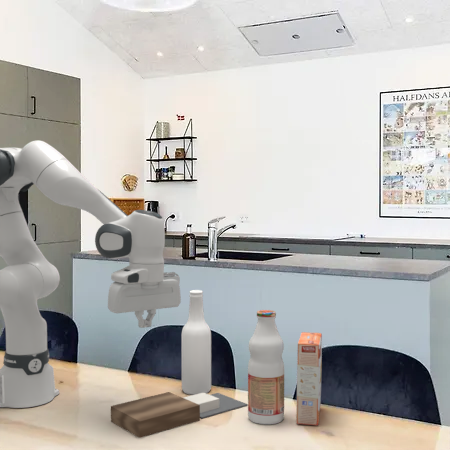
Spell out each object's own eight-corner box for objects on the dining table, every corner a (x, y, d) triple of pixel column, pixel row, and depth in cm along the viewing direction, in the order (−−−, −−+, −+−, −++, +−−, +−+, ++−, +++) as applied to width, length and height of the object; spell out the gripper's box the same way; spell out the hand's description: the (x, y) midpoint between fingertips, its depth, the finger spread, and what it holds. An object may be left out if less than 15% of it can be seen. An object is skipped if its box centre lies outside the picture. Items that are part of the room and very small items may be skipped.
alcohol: (217, 391, 177) (217, 291, 176) (194, 397, 171) (193, 293, 170) (198, 384, 184) (198, 287, 183) (175, 390, 178) (175, 290, 177)
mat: (172, 405, 164) (172, 404, 164) (217, 394, 174) (217, 392, 174) (201, 418, 154) (201, 417, 154) (247, 405, 164) (247, 404, 164)
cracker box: (319, 426, 149) (320, 343, 148) (295, 425, 150) (295, 342, 149) (322, 408, 162) (322, 332, 162) (299, 406, 164) (300, 331, 163)
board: (110, 421, 152) (110, 406, 152) (169, 406, 164) (168, 391, 164) (139, 437, 142) (139, 421, 142) (199, 420, 153) (199, 405, 153)
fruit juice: (259, 427, 148) (259, 316, 147) (241, 415, 157) (241, 310, 156) (291, 421, 152) (291, 313, 151) (272, 410, 161) (272, 307, 160)
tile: (177, 408, 161) (177, 399, 161) (203, 401, 167) (203, 392, 167) (192, 415, 156) (192, 405, 156) (219, 407, 161) (219, 398, 161)
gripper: (172, 270, 162) (171, 320, 162) (105, 274, 149) (103, 329, 149) (186, 272, 157) (184, 324, 158) (118, 277, 144) (116, 334, 144)
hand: (144, 327), depth 153 cm, fingers closed
